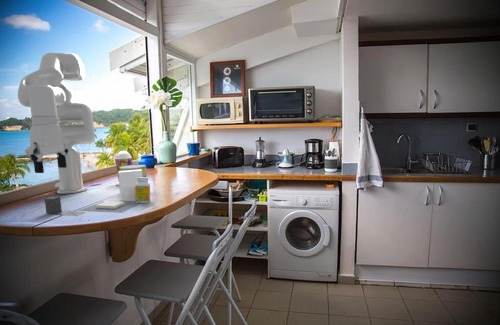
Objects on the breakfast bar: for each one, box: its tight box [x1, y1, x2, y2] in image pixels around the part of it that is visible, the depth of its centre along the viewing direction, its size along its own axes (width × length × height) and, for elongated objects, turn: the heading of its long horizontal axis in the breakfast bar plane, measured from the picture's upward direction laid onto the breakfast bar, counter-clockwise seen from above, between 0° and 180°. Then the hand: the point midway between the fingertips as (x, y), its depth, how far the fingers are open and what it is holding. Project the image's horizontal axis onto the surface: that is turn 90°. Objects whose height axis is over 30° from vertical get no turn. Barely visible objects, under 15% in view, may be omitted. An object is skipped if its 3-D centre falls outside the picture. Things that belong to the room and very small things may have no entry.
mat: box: [77, 201, 143, 214], centre depth 118 cm, size 18×13×1 cm
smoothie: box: [114, 145, 133, 182], centre depth 166 cm, size 8×8×20 cm
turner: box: [44, 196, 88, 217], centre depth 111 cm, size 14×5×6 cm, turn 76°
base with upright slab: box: [117, 169, 142, 202], centre depth 130 cm, size 9×9×12 cm
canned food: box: [119, 164, 148, 177], centre depth 143 cm, size 11×11×12 cm
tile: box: [96, 200, 126, 209], centre depth 118 cm, size 1×6×8 cm
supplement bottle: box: [134, 176, 151, 204], centre depth 124 cm, size 5×5×10 cm
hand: (51, 170), depth 113 cm, fingers open, 9 cm apart
